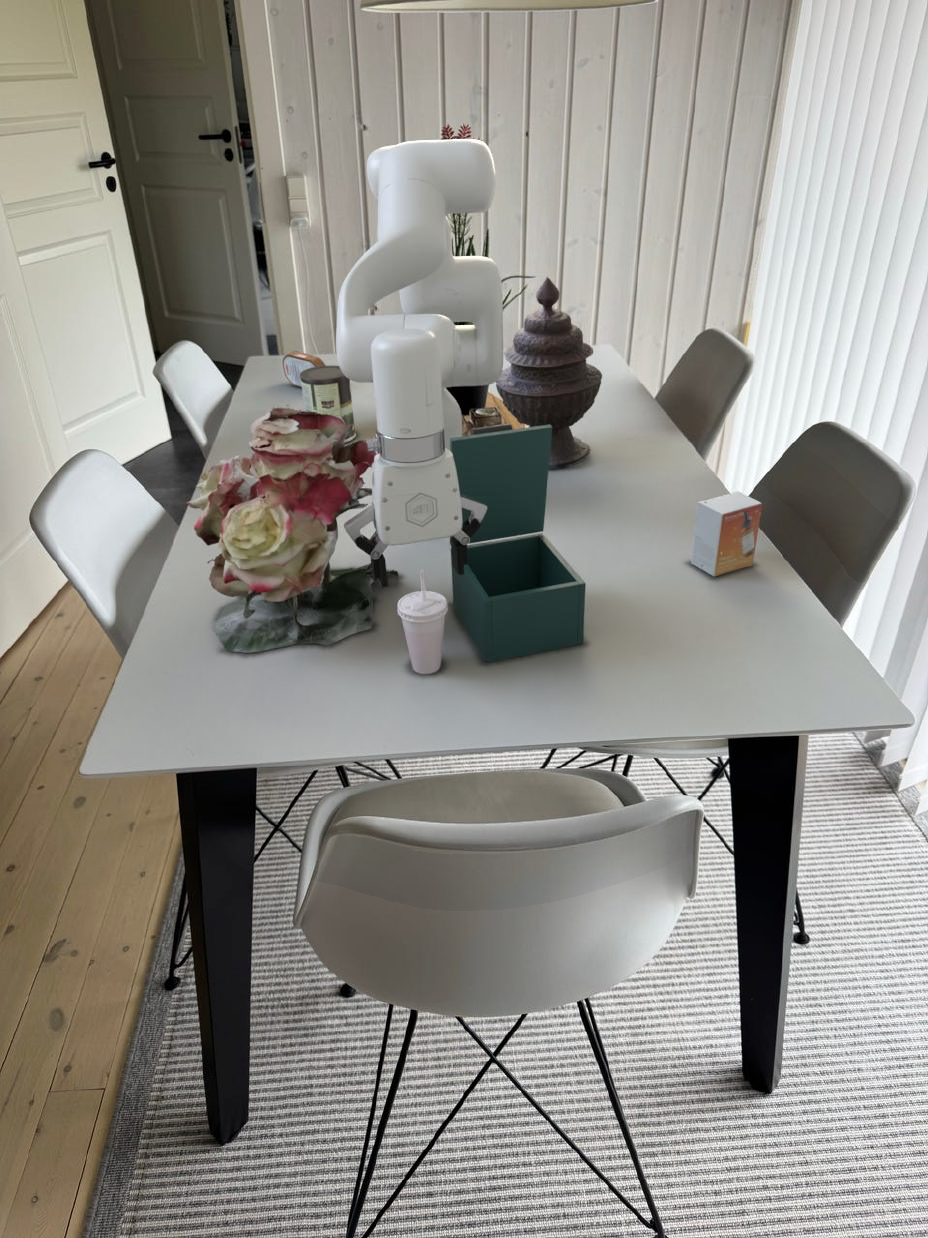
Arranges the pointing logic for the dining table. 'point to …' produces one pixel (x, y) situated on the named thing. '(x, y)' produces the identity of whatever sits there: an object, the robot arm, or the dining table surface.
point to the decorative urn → (550, 377)
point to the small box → (725, 533)
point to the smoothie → (423, 627)
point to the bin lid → (504, 477)
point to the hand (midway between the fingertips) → (420, 576)
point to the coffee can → (328, 394)
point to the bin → (519, 598)
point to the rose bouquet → (286, 534)
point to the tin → (299, 365)
